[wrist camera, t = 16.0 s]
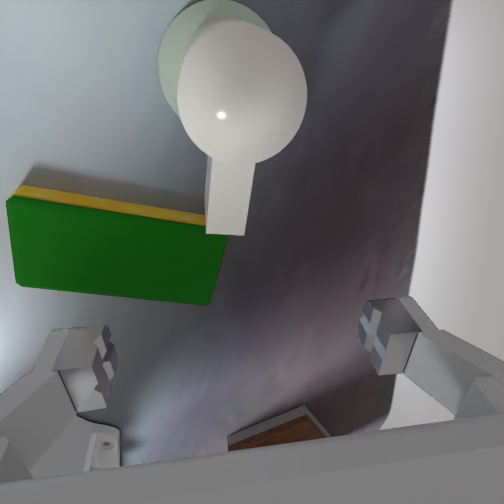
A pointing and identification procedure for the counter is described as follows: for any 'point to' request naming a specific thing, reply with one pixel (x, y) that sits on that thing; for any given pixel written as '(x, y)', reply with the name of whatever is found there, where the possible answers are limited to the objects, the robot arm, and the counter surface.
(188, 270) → the dish sponge
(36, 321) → the counter surface
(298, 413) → the spiral staircase model
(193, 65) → the jug
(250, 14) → the trivet
